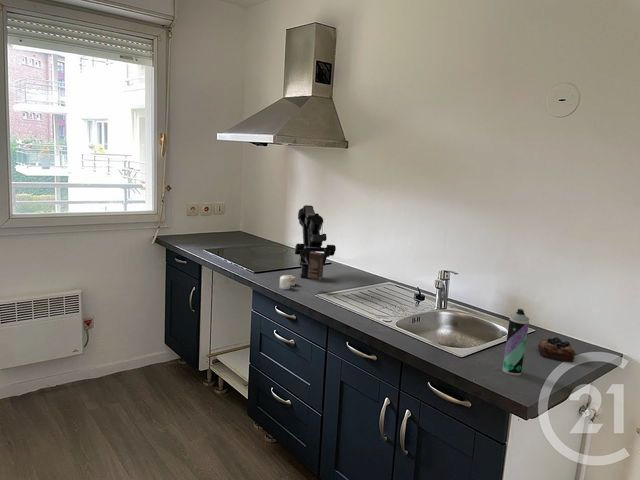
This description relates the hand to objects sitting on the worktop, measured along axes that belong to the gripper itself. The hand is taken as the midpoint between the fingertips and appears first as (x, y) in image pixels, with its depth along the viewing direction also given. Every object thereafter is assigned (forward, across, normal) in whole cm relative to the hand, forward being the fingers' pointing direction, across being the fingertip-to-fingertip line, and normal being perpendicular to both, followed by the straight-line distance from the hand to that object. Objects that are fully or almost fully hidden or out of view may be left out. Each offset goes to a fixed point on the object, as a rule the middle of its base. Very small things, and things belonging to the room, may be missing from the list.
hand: (316, 265), depth 221 cm
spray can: (+69, +48, -53) cm, 99 cm away
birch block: (+1, -11, +16) cm, 20 cm away
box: (+4, 0, +6) cm, 7 cm away
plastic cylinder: (+6, -13, +12) cm, 19 cm away
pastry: (+60, +72, -43) cm, 104 cm away
